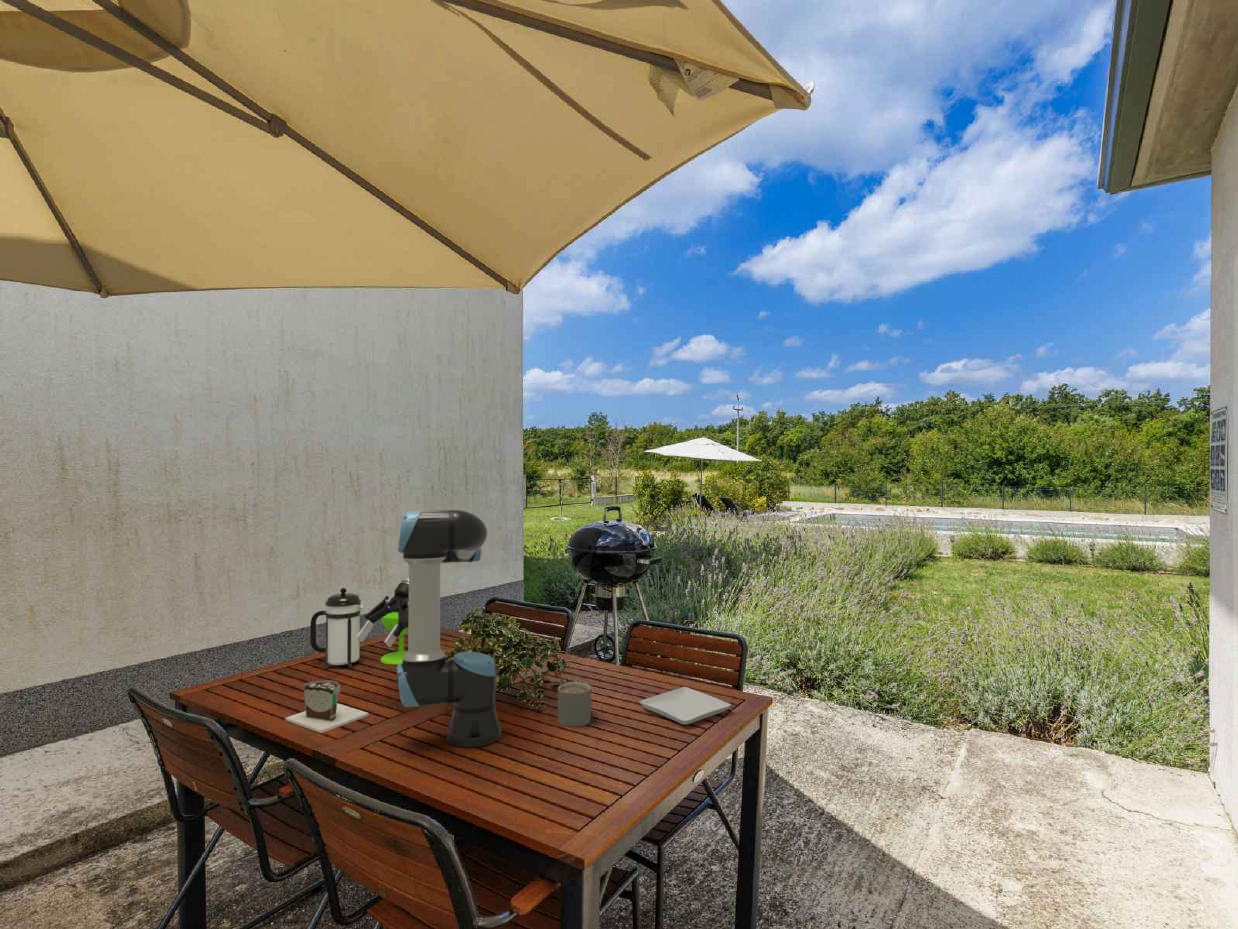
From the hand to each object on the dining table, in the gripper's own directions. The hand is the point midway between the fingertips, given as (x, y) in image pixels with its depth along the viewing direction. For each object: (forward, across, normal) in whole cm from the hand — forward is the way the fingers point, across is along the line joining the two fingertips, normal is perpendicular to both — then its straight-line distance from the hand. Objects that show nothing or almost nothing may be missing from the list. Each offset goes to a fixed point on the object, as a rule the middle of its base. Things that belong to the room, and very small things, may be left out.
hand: (373, 642), depth 210 cm
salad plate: (-18, -87, -50) cm, 102 cm away
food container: (+24, +4, -4) cm, 25 cm away
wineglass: (-15, +35, -43) cm, 58 cm away
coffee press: (-2, +48, -30) cm, 57 cm away
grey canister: (-3, -62, -34) cm, 71 cm away
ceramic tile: (+24, +4, -5) cm, 25 cm away
